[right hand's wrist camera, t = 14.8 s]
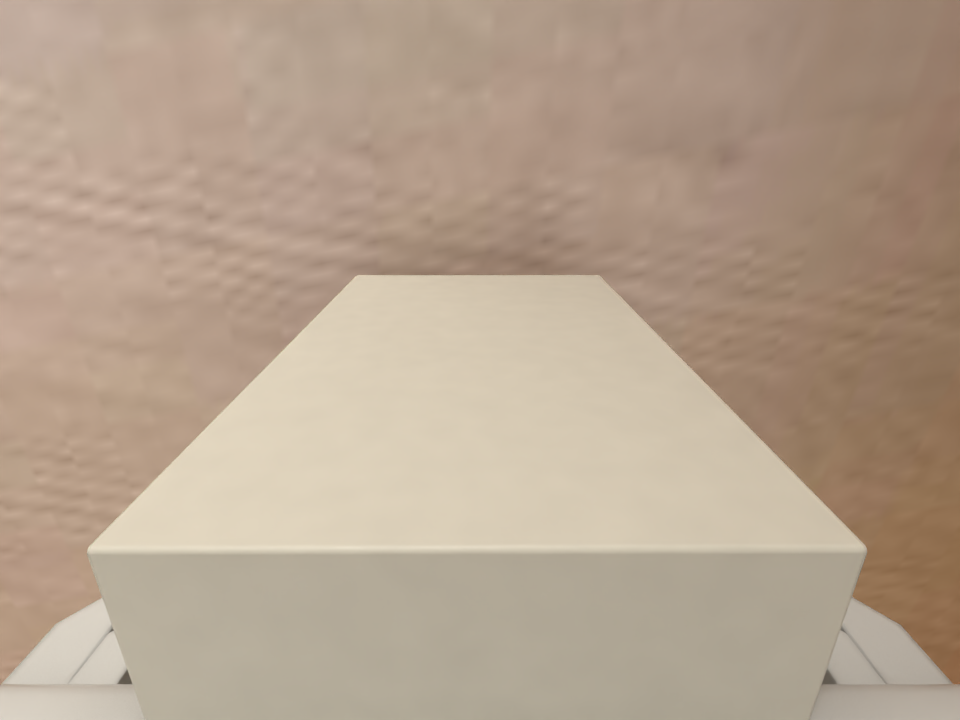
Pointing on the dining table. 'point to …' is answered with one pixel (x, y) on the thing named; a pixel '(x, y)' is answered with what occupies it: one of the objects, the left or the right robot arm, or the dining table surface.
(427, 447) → the box
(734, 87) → the dining table surface
